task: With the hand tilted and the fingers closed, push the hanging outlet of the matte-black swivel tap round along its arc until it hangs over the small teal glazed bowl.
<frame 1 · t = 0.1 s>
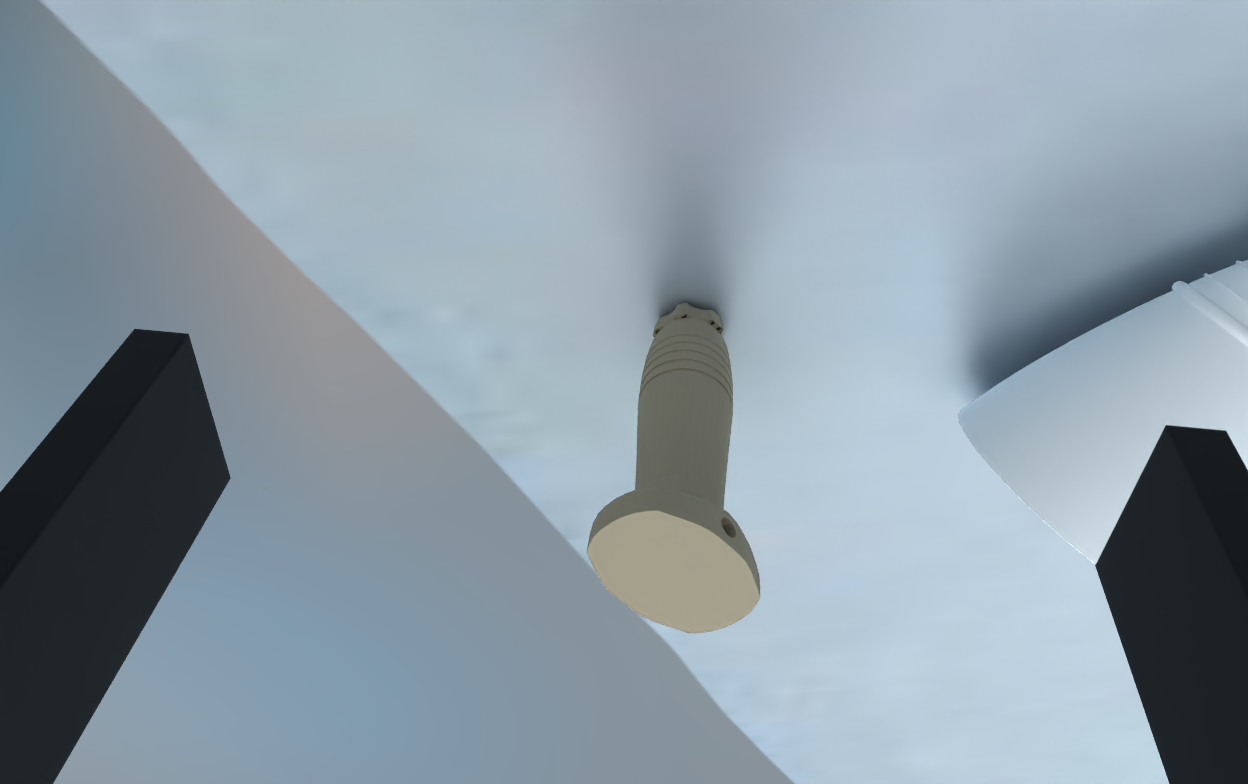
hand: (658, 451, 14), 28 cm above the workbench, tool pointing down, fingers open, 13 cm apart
rocket engine: (1195, 324, 44), on the workbench
handle: (690, 326, 47), on the workbench
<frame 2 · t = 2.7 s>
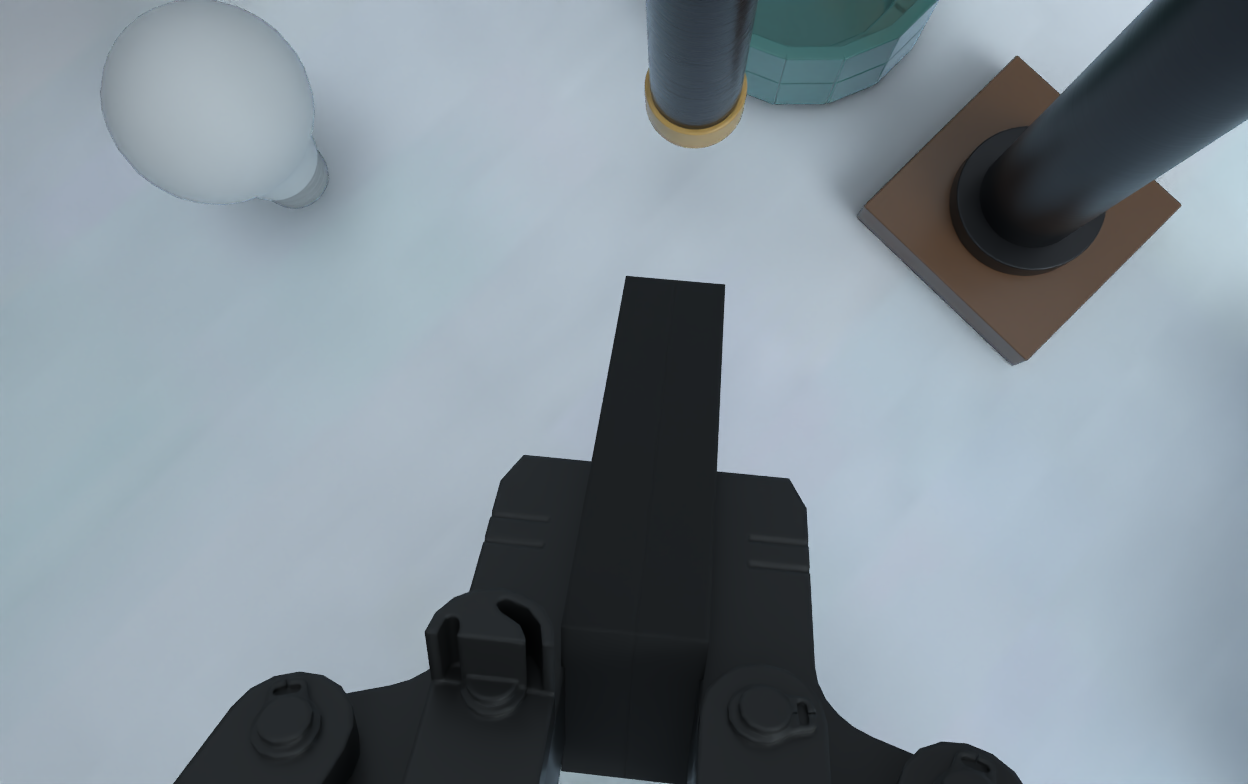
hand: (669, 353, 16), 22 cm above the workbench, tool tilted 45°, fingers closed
lightbulb: (305, 184, 39), on the workbench
spout: (987, 0, 22), point 16 cm above the workbench, hinge at 0.0°
black post: (1008, 216, 38), on the workbench
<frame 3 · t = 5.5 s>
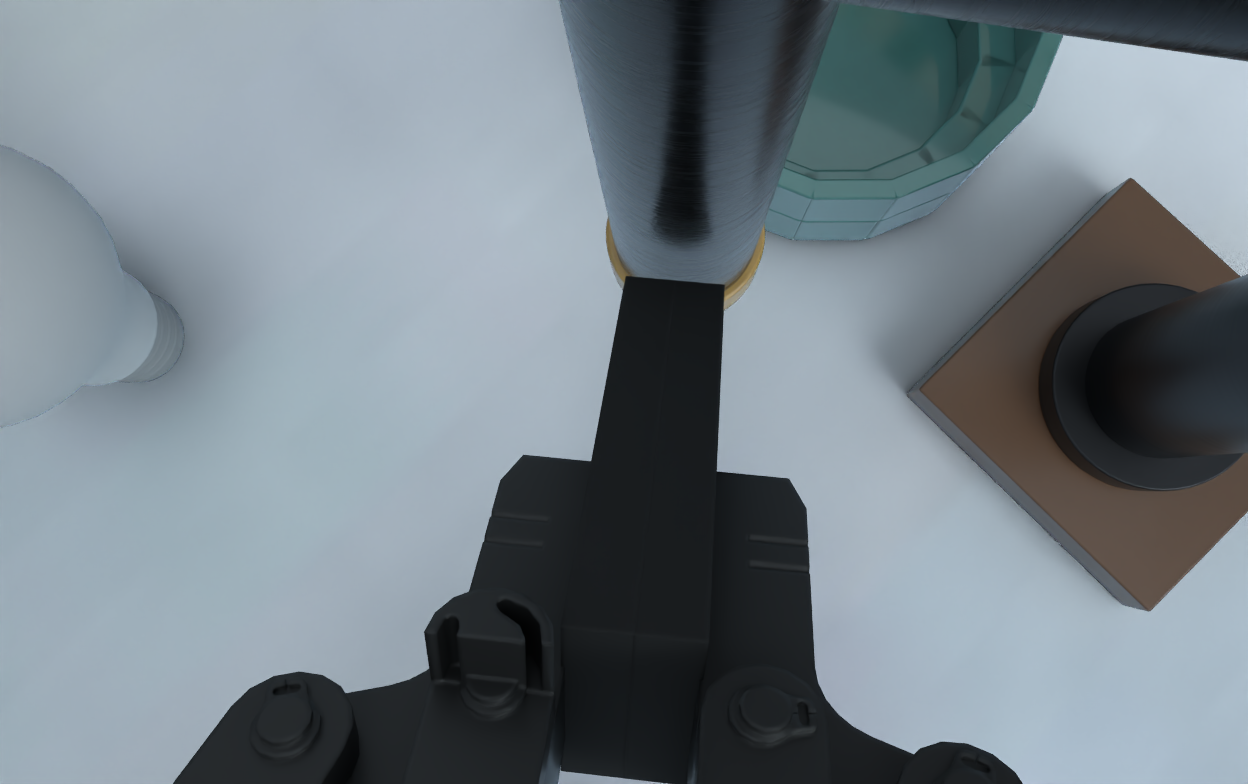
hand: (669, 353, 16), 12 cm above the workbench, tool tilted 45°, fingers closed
basin: (823, 73, 29), on the workbench
lightbulb: (158, 343, 29), on the workbench
spout: (1212, 189, 12), point 16 cm above the workbench, hinge at 4.5°, touching gripper
black post: (1115, 395, 27), on the workbench
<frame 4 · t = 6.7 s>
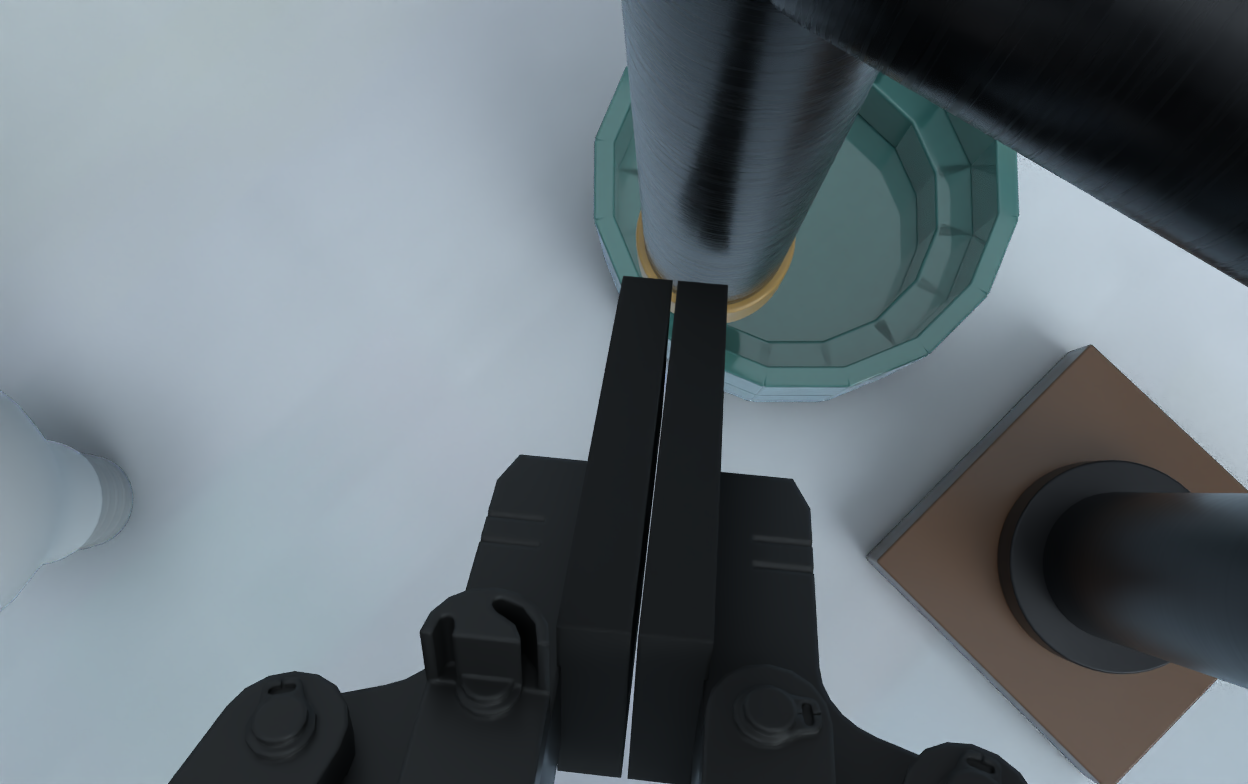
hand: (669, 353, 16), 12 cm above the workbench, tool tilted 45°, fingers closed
basin: (782, 226, 28), on the workbench
lightbulb: (108, 500, 29), on the workbench
spout: (1194, 389, 12), point 16 cm above the workbench, hinge at 27.3°, touching gripper
black post: (1076, 559, 27), on the workbench
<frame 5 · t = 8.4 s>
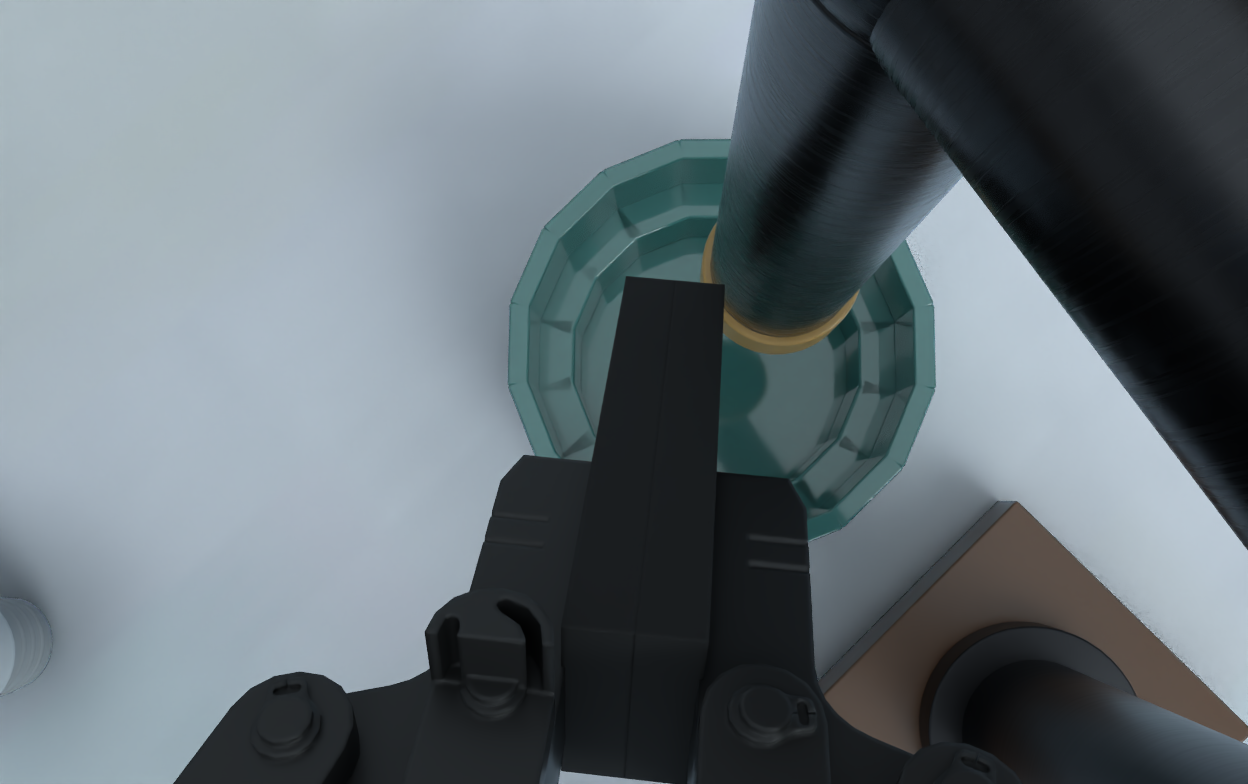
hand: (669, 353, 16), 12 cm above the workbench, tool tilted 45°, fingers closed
basin: (711, 368, 28), on the workbench
lightbulb: (31, 638, 28), on the workbench
spout: (1155, 589, 12), point 16 cm above the workbench, hinge at 49.8°
black post: (1003, 713, 27), on the workbench
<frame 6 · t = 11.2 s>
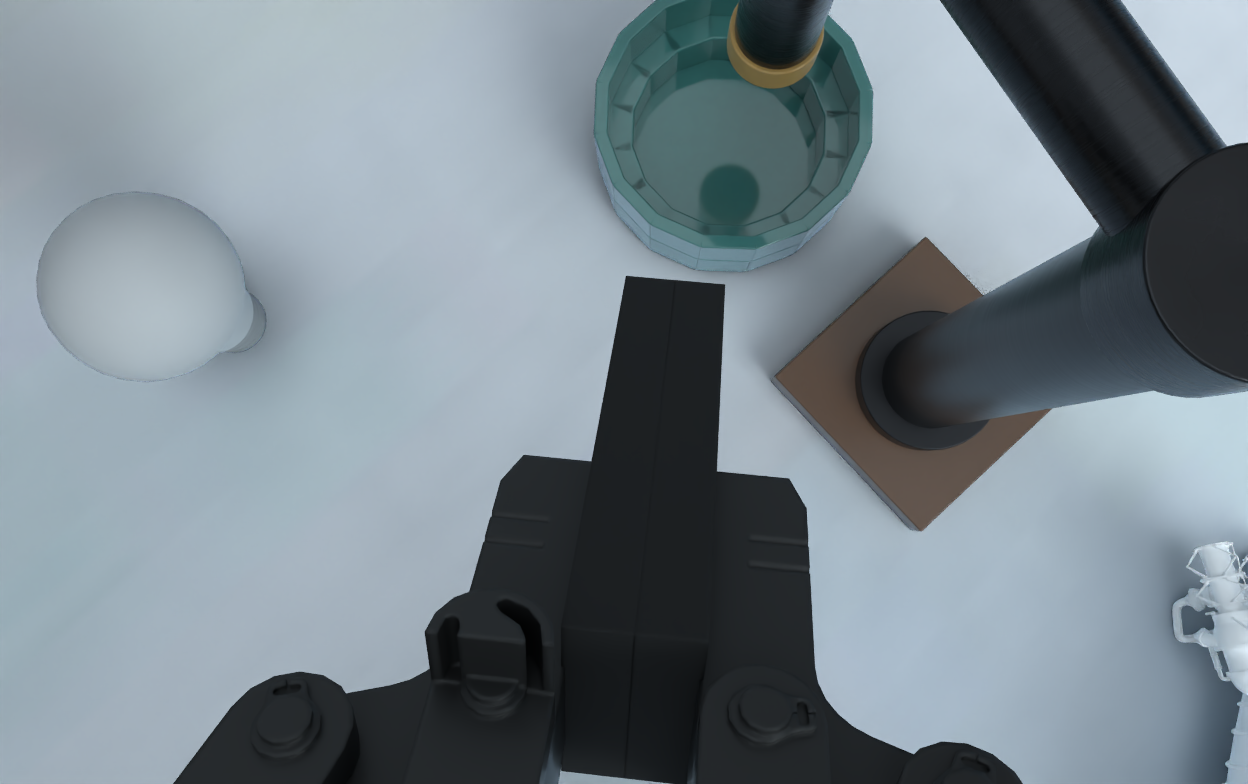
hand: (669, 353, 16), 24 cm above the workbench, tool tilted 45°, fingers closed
basin: (723, 152, 41), on the workbench
lightbulb: (245, 325, 41), on the workbench
spout: (952, 131, 25), point 16 cm above the workbench, hinge at 49.8°
black post: (913, 385, 40), on the workbench
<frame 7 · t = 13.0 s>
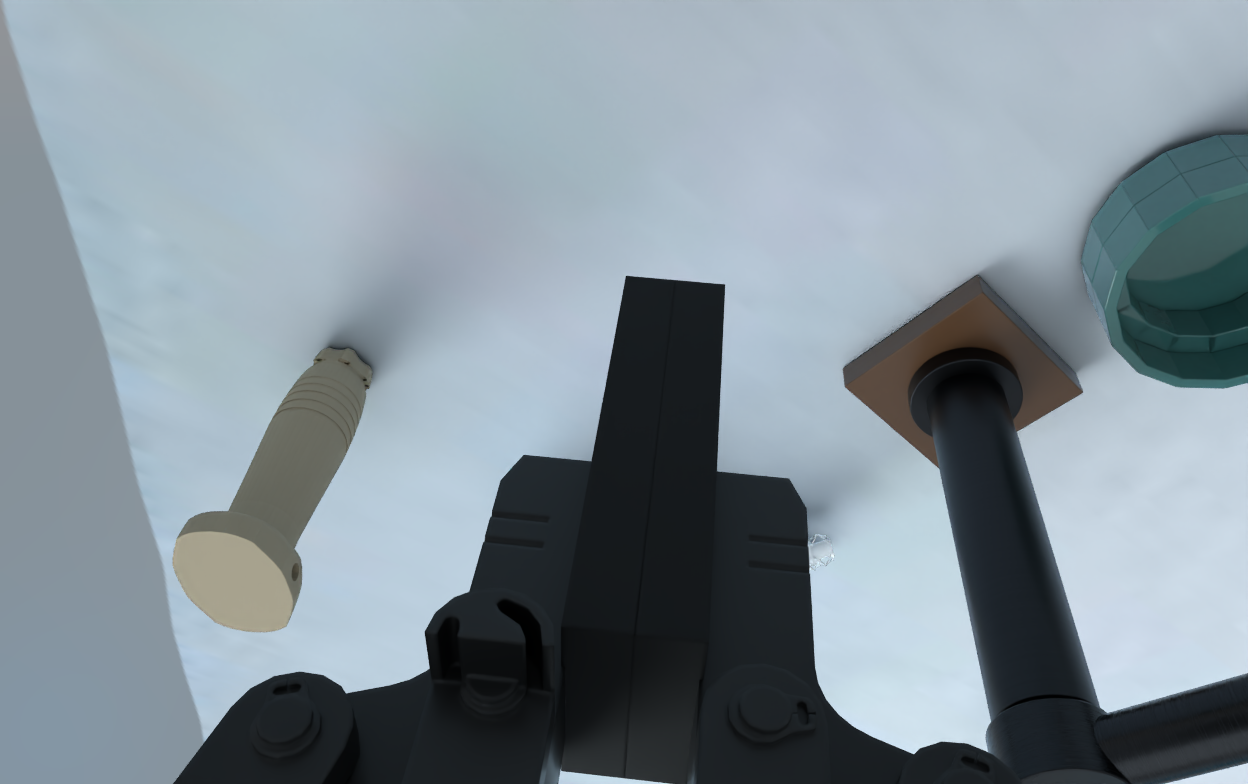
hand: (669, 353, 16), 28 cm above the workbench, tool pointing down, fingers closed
basin: (1201, 235, 44), on the workbench
rocket engine: (667, 556, 61), on the workbench
spout: (1178, 576, 35), point 16 cm above the workbench, hinge at 49.8°
black post: (957, 370, 50), on the workbench
handle: (346, 365, 54), on the workbench
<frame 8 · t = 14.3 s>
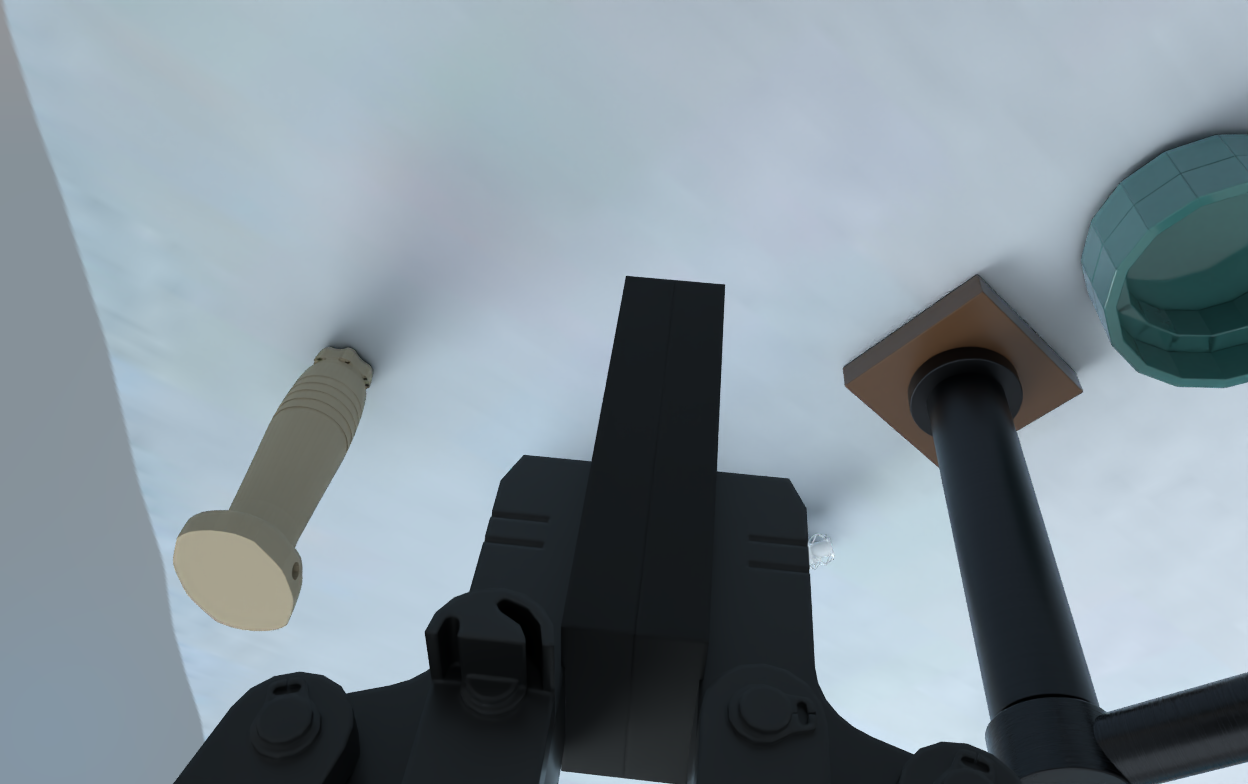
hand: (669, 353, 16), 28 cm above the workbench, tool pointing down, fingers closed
basin: (1201, 235, 44), on the workbench
rocket engine: (667, 556, 61), on the workbench
spout: (1177, 575, 35), point 16 cm above the workbench, hinge at 49.8°
black post: (957, 370, 50), on the workbench
handle: (346, 364, 54), on the workbench
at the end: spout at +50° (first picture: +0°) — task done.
